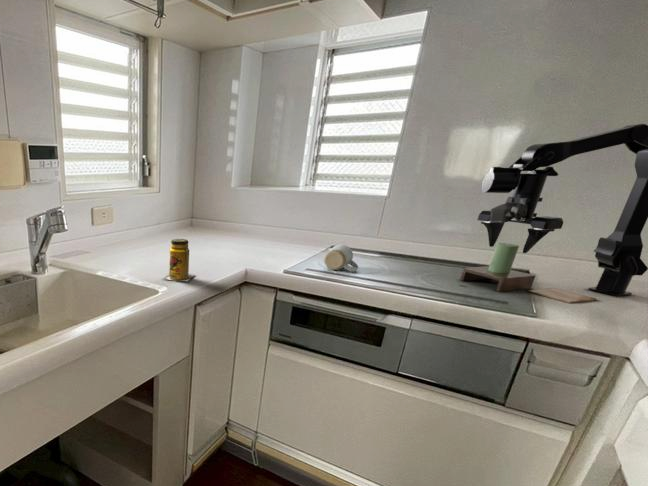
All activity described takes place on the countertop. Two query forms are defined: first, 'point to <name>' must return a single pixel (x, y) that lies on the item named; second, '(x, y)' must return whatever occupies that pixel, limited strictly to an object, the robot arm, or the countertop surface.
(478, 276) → the shelf
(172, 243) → the condiment
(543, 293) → the cork pad
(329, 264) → the ceramic mug
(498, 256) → the spice tin
